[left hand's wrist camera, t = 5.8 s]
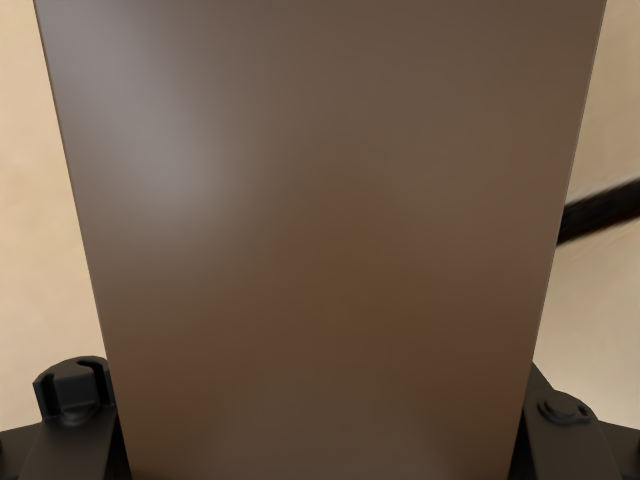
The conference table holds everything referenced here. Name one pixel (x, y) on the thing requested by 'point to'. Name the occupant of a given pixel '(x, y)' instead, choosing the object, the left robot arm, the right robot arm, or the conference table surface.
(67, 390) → the left robot arm
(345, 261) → the bar
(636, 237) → the conference table surface
